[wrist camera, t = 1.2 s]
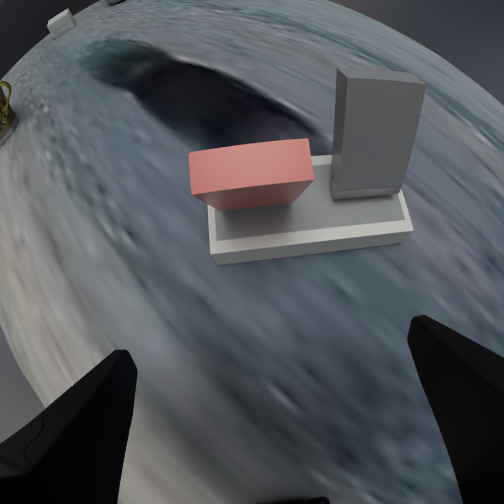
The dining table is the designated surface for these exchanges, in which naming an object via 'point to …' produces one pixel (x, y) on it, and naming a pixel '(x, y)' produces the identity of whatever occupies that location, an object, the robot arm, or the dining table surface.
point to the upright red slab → (251, 174)
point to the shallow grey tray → (308, 224)
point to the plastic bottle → (112, 1)
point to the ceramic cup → (6, 115)
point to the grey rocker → (373, 131)
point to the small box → (61, 23)
